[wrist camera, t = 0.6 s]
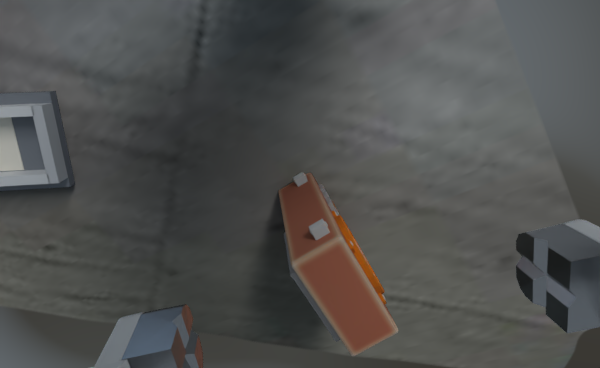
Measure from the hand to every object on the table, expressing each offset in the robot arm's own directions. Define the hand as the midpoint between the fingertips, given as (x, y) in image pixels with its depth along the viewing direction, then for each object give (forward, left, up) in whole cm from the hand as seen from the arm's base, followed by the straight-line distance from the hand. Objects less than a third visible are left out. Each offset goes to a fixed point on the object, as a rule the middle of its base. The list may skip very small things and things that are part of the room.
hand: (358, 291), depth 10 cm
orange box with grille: (+17, +5, -45) cm, 49 cm away
